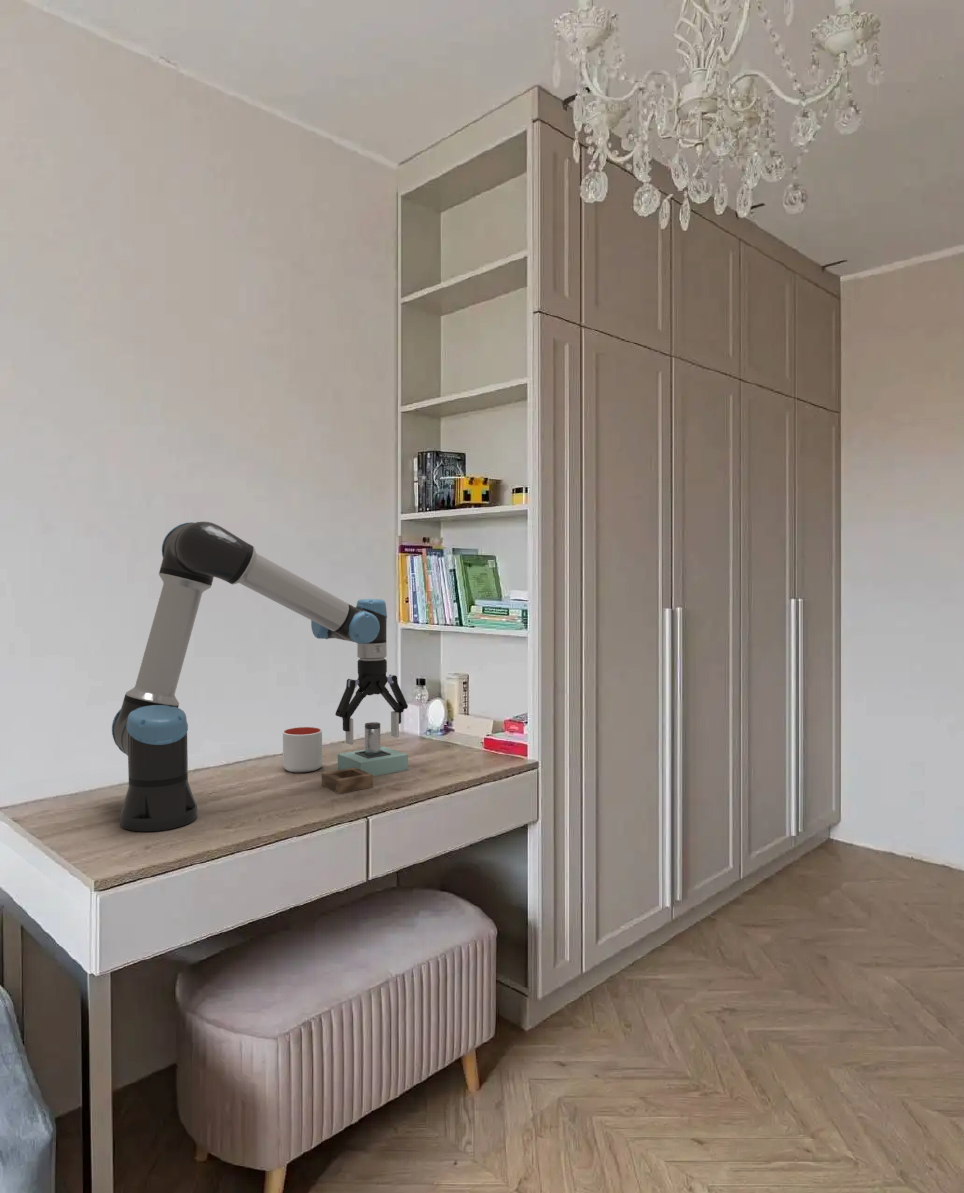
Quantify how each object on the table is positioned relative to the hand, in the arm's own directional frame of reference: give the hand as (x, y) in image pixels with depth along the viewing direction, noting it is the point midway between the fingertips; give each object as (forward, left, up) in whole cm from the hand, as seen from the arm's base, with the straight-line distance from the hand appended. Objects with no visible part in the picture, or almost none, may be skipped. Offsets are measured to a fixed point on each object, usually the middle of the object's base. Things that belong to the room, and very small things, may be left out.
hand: (372, 740), depth 218 cm
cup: (-14, +12, -8) cm, 20 cm away
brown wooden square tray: (-13, -10, -8) cm, 18 cm away
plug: (0, 0, -8) cm, 8 cm away
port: (0, 0, -8) cm, 8 cm away
